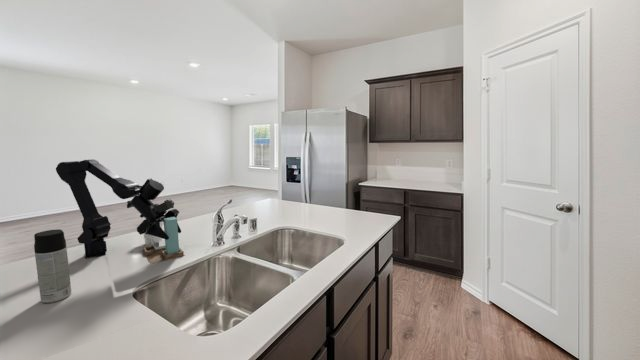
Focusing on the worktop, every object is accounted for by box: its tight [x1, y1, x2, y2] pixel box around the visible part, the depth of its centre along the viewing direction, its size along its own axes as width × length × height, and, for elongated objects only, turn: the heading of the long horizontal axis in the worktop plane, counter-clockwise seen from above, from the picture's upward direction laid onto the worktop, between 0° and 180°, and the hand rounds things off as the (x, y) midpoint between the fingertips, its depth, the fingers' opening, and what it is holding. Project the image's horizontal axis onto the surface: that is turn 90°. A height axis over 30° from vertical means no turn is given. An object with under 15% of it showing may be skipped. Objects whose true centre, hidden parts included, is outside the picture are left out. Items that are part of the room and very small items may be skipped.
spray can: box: [33, 228, 72, 304], centre depth 80 cm, size 7×7×20 cm
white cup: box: [143, 221, 163, 246], centre depth 127 cm, size 8×8×10 cm
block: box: [163, 217, 180, 255], centre depth 110 cm, size 4×4×15 cm
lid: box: [151, 238, 166, 250], centre depth 117 cm, size 7×7×3 cm
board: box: [141, 244, 186, 265], centre depth 113 cm, size 12×18×2 cm, turn 41°
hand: (174, 235), depth 110 cm, fingers open, 8 cm apart
